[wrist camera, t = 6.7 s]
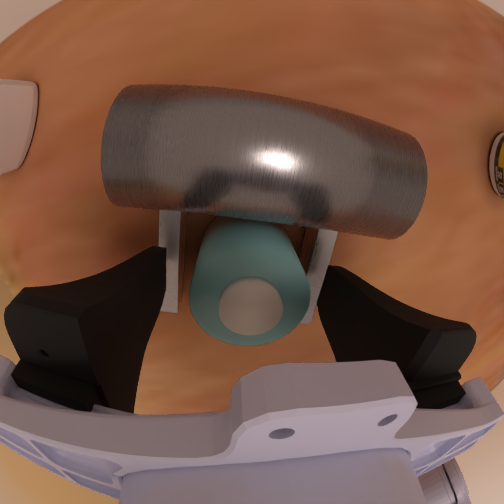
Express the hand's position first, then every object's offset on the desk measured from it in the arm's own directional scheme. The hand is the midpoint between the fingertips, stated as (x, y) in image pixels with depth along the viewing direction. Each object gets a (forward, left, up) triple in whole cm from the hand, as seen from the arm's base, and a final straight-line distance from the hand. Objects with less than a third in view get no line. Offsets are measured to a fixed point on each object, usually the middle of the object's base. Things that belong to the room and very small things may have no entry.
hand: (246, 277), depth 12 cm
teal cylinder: (0, 0, -3) cm, 4 cm away
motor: (+2, 0, -3) cm, 4 cm away
